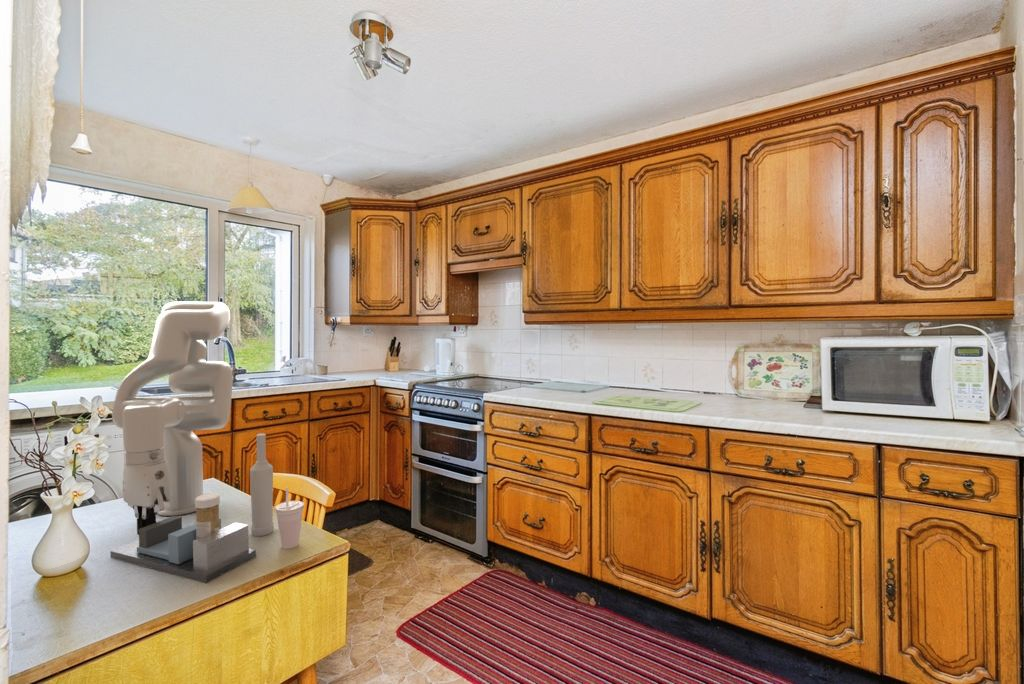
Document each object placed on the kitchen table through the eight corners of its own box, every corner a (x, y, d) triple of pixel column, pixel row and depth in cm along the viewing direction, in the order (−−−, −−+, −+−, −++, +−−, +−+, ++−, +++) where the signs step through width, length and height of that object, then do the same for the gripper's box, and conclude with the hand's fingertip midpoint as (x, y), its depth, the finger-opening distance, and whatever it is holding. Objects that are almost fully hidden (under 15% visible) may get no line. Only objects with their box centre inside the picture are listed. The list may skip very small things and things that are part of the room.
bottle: (251, 529, 123) (250, 433, 122) (274, 526, 125) (273, 431, 124) (249, 538, 118) (248, 437, 117) (273, 534, 120) (271, 435, 119)
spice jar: (225, 553, 107) (224, 494, 107) (205, 562, 103) (204, 501, 102) (211, 549, 109) (210, 491, 108) (191, 558, 105) (190, 498, 104)
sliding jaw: (134, 553, 107) (133, 526, 106) (179, 534, 116) (178, 510, 116) (178, 564, 102) (177, 536, 102) (221, 544, 111) (220, 518, 111)
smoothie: (270, 545, 114) (270, 487, 114) (297, 536, 119) (297, 481, 119) (281, 554, 110) (281, 494, 109) (309, 545, 115) (308, 487, 114)
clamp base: (110, 557, 108) (109, 524, 108) (164, 535, 119) (164, 505, 119) (206, 583, 98) (205, 547, 97) (255, 556, 109) (255, 523, 109)
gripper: (183, 455, 113) (185, 531, 114) (139, 449, 118) (141, 522, 119) (150, 464, 106) (152, 545, 107) (104, 457, 111) (107, 534, 112)
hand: (146, 532), depth 113 cm, fingers closed
